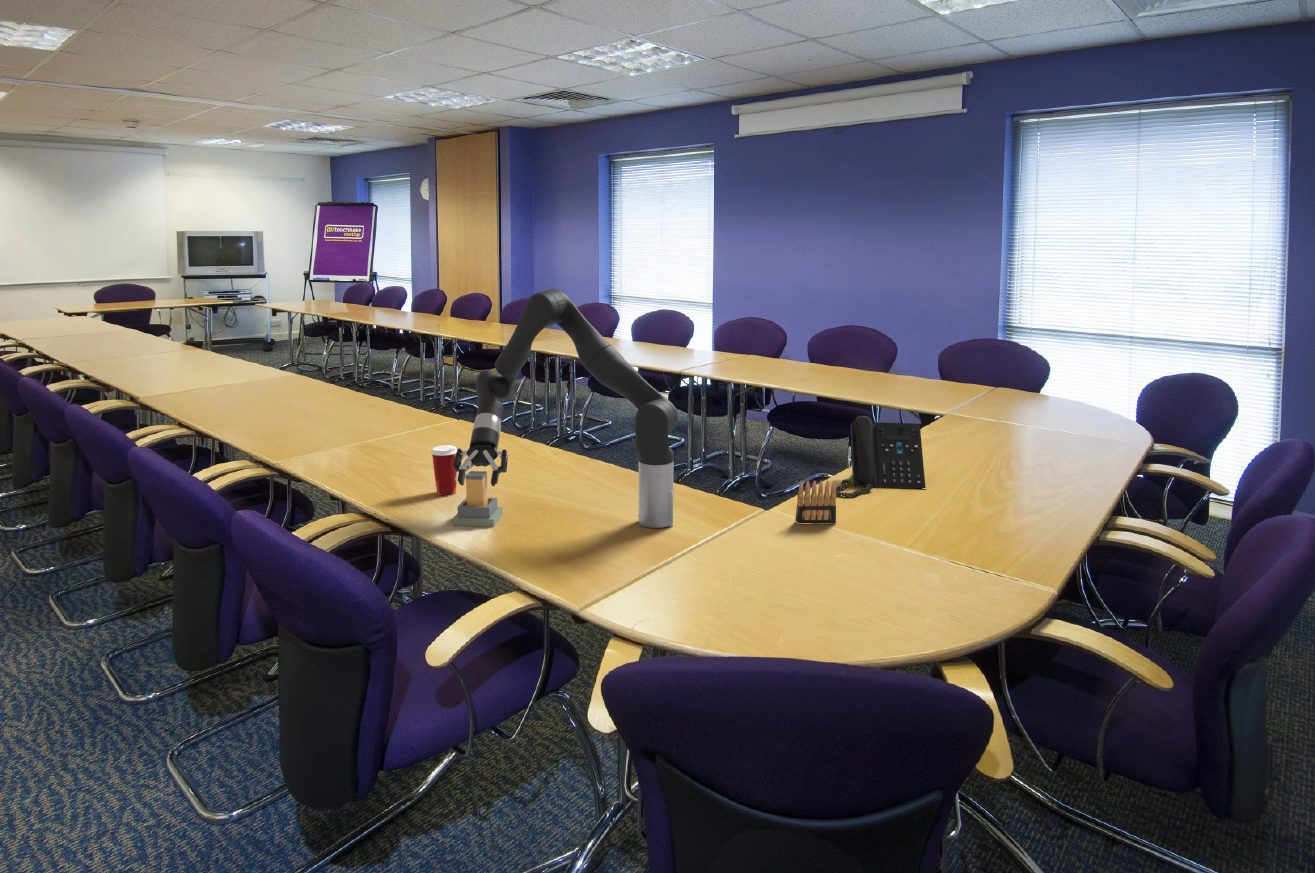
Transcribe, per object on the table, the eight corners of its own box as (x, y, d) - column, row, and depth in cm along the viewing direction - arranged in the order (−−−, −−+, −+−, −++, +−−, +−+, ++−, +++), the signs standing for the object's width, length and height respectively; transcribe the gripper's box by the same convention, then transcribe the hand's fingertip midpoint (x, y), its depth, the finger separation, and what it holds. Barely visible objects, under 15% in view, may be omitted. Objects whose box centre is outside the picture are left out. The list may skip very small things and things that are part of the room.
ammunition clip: (834, 521, 218) (836, 479, 215) (836, 523, 216) (838, 481, 213) (795, 522, 218) (797, 479, 215) (796, 524, 216) (798, 481, 213)
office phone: (833, 498, 239) (837, 432, 234) (823, 472, 266) (826, 412, 262) (934, 501, 236) (940, 434, 232) (913, 474, 264) (918, 414, 259)
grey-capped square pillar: (488, 510, 219) (486, 471, 217) (484, 515, 215) (482, 476, 212) (472, 509, 220) (470, 471, 217) (467, 515, 215) (465, 475, 213)
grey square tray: (503, 514, 222) (502, 497, 221) (493, 526, 213) (493, 508, 211) (463, 513, 223) (462, 496, 222) (452, 525, 213) (451, 507, 212)
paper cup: (465, 492, 242) (462, 446, 239) (446, 498, 236) (443, 452, 232) (447, 487, 246) (444, 443, 243) (427, 494, 240) (424, 448, 236)
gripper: (457, 425, 221) (447, 477, 213) (508, 426, 220) (500, 478, 212) (464, 439, 228) (454, 490, 219) (513, 440, 227) (506, 491, 218)
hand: (477, 484), depth 215 cm, fingers open, 8 cm apart
